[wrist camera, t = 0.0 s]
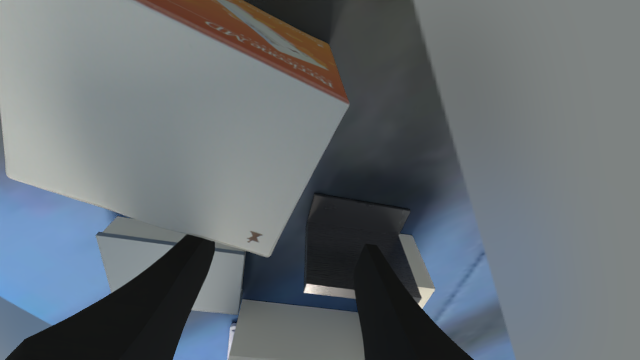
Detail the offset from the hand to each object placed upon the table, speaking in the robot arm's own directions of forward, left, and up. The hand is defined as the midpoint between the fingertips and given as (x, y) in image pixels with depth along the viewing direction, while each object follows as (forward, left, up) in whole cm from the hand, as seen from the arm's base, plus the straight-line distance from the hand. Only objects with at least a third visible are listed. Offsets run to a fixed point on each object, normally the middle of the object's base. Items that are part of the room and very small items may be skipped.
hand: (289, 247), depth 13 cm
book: (-14, +9, -11) cm, 20 cm away
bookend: (-6, -6, -10) cm, 13 cm away
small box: (+6, +4, -10) cm, 13 cm away
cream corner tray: (-14, -4, -10) cm, 18 cm away
